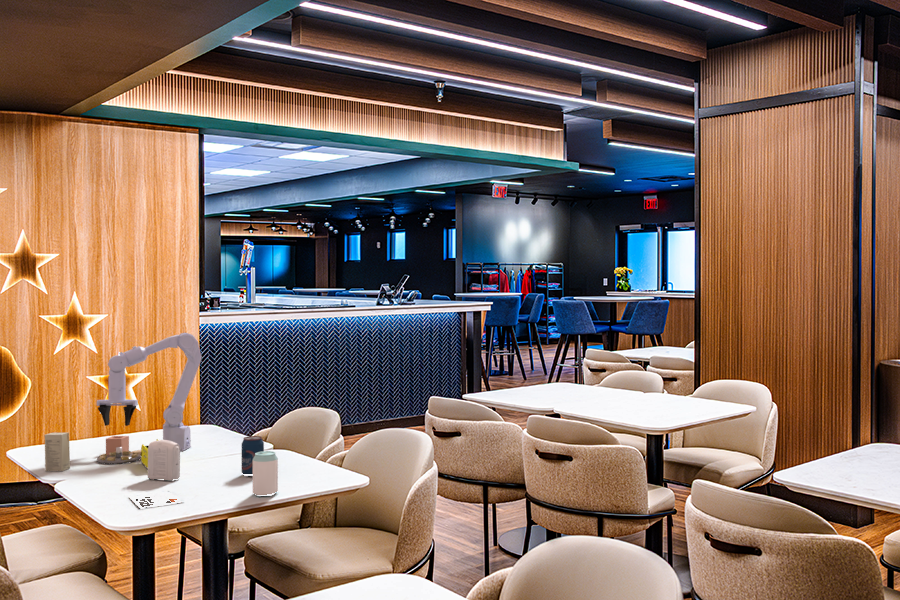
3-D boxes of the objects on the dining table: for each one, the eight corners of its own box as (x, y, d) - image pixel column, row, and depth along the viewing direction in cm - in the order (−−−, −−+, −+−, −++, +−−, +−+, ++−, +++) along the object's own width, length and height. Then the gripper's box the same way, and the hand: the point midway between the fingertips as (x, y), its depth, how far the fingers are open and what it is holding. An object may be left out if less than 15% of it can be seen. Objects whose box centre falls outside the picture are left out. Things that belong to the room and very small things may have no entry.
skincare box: (70, 468, 250) (70, 432, 250) (62, 471, 245) (62, 434, 245) (52, 468, 250) (52, 431, 250) (44, 471, 246) (44, 434, 246)
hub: (147, 456, 270) (147, 443, 270) (129, 464, 256) (129, 451, 256) (109, 455, 271) (109, 443, 271) (89, 464, 257) (89, 451, 257)
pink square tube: (128, 452, 277) (128, 435, 277) (121, 455, 271) (121, 438, 271) (113, 452, 277) (113, 435, 277) (105, 455, 272) (105, 438, 272)
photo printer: (182, 479, 235) (182, 439, 235) (173, 482, 231) (173, 442, 231) (154, 477, 238) (154, 438, 238) (145, 480, 234) (145, 440, 234)
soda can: (237, 476, 238) (237, 438, 238) (250, 471, 245) (250, 435, 245) (255, 478, 236) (255, 440, 236) (268, 473, 242) (268, 436, 242)
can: (254, 498, 211) (254, 456, 211) (250, 493, 218) (250, 451, 218) (279, 496, 214) (279, 454, 214) (275, 490, 220) (275, 449, 220)
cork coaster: (160, 450, 279) (160, 449, 279) (149, 455, 270) (149, 454, 270) (136, 450, 280) (136, 449, 280) (125, 455, 271) (125, 454, 271)
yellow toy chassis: (166, 470, 247) (166, 445, 247) (148, 473, 244) (148, 447, 244) (157, 462, 261) (157, 438, 261) (140, 464, 258) (140, 439, 258)
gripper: (92, 389, 271) (92, 427, 271) (131, 389, 270) (131, 427, 270) (102, 387, 278) (102, 423, 278) (140, 387, 277) (140, 424, 277)
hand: (117, 425), depth 274 cm, fingers open, 7 cm apart
